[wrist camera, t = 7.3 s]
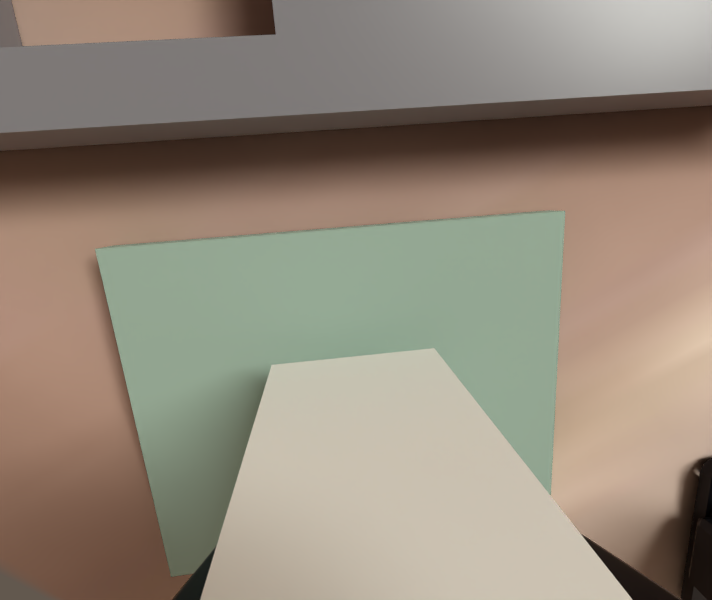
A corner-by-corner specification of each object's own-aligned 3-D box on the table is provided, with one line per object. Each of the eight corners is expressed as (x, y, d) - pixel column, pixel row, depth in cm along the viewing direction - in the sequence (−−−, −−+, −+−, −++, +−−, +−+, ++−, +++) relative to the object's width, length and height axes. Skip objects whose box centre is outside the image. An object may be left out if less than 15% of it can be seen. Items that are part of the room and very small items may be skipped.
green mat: (548, 210, 11) (565, 210, 11) (536, 506, 14) (549, 525, 13) (111, 245, 10) (95, 249, 10) (179, 554, 13) (170, 576, 12)
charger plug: (434, 348, 10) (853, 880, 2) (438, 486, 11) (736, 1201, 3) (271, 365, 10) (65, 1046, 2) (290, 504, 11) (207, 1337, 3)
